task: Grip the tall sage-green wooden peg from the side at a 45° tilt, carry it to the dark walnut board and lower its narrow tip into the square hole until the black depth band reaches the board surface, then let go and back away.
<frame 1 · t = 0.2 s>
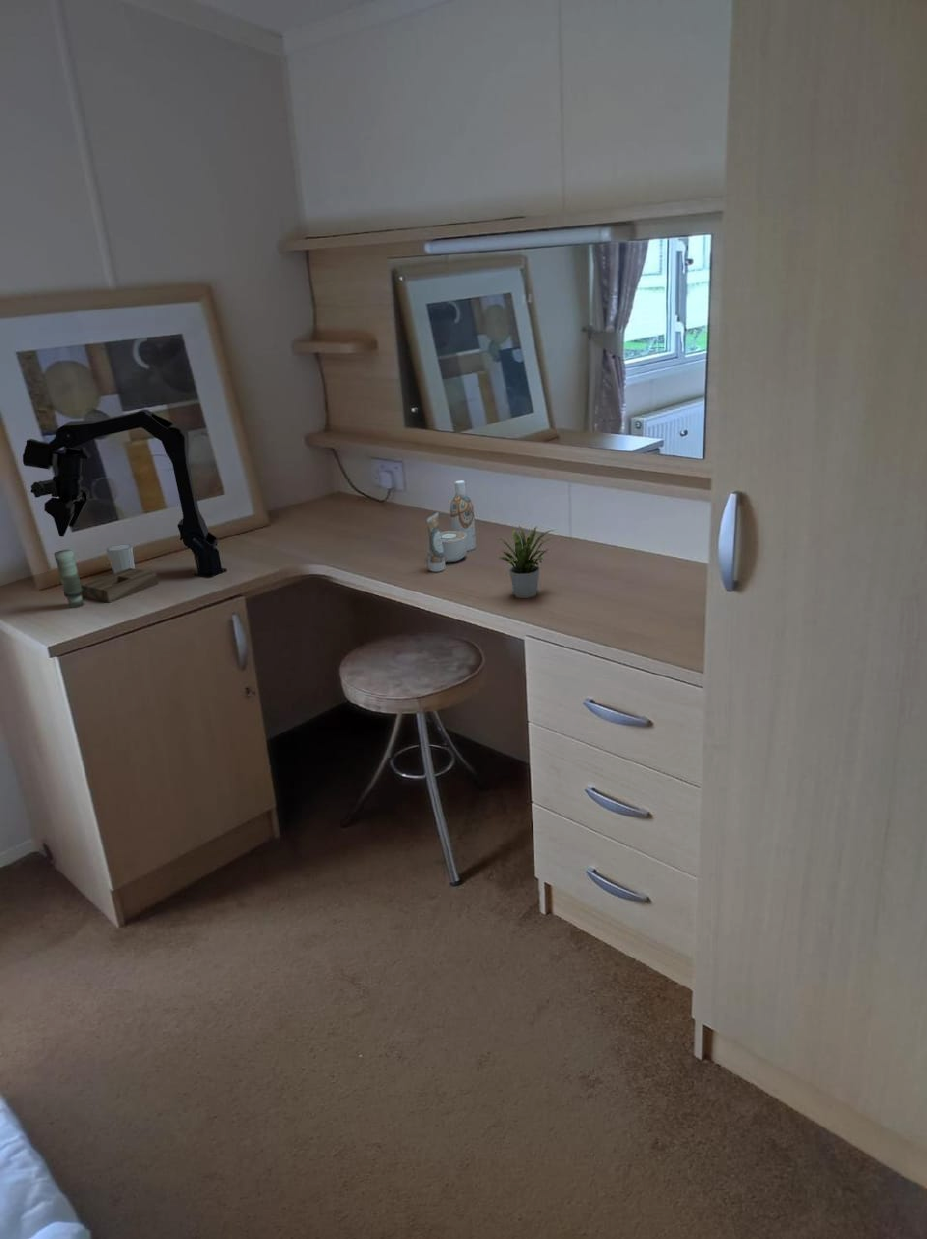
hand: (66, 531, 230), 15 cm above the table, tool tilted 15°, fingers open, 9 cm apart
peg: (76, 605, 222), on the table
board: (121, 590, 231), on the table
shot glass: (124, 572, 246), on the table
house plant: (531, 595, 207), on the table
cosmetic set: (451, 559, 236), on the table
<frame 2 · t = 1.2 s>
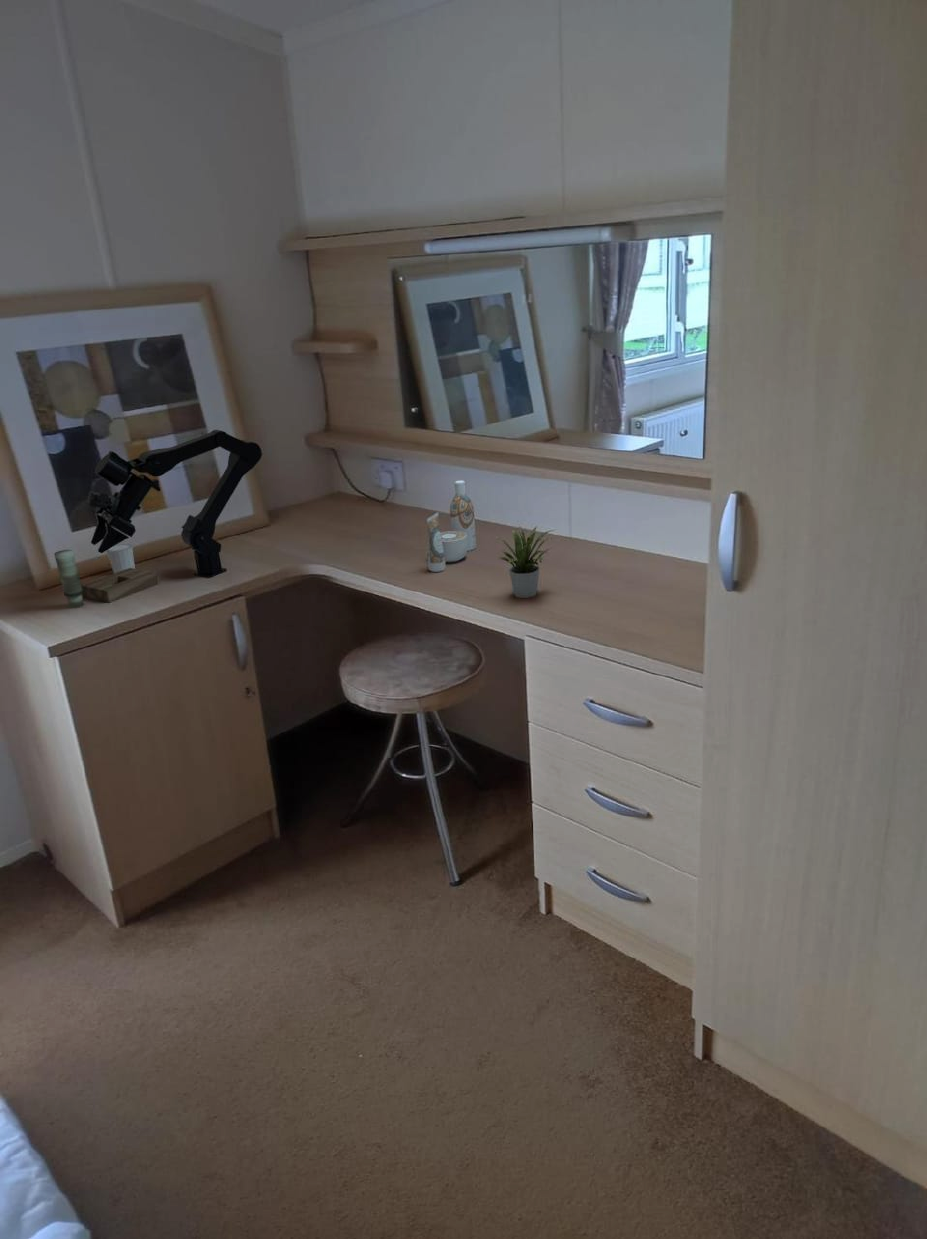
hand: (96, 548, 221), 13 cm above the table, tool tilted 45°, fingers open, 9 cm apart
nothing on the table moved.
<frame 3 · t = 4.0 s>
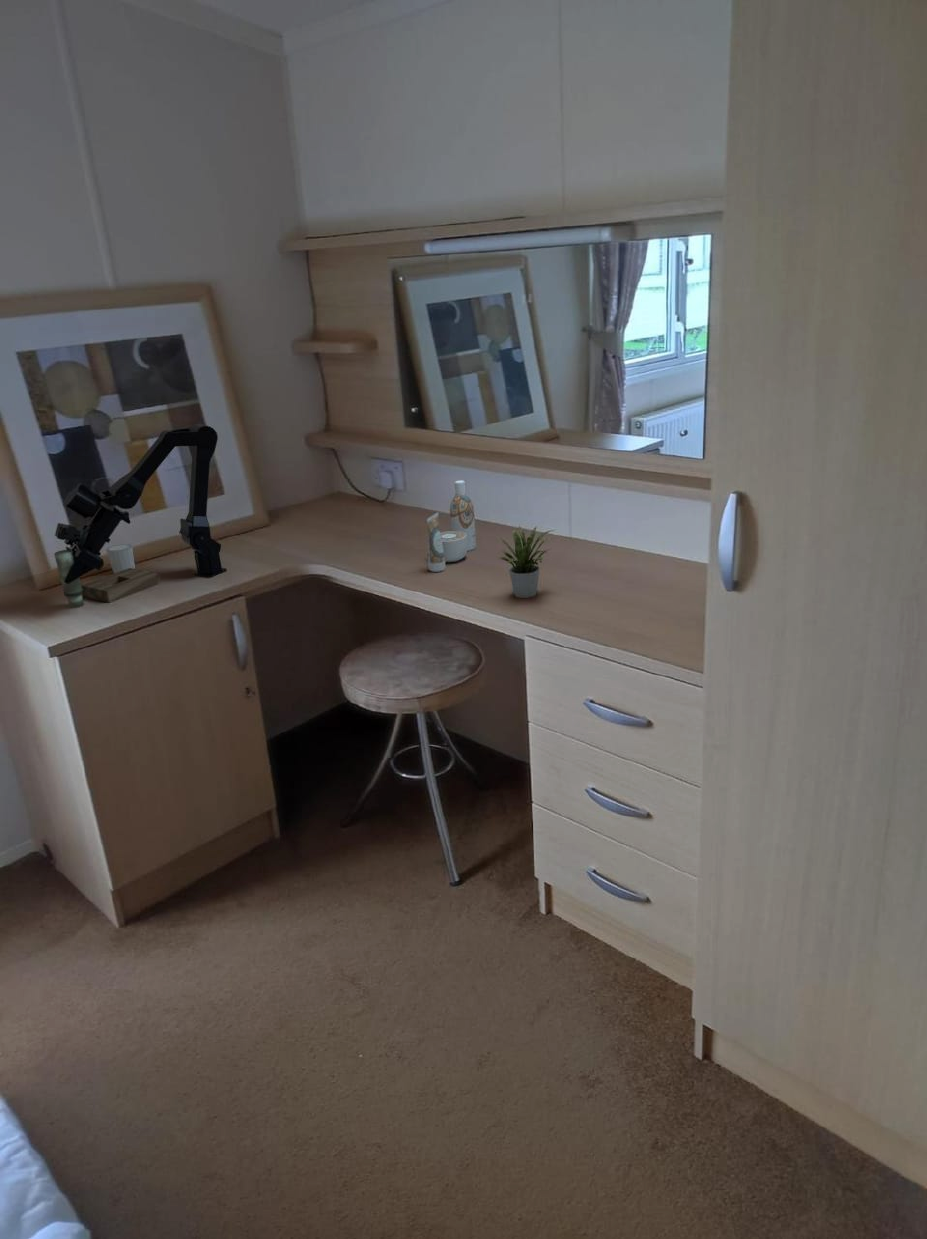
hand: (64, 580, 218), 7 cm above the table, tool tilted 45°, fingers closed on peg, 4 cm apart
peg: (76, 605, 222), on the table, touching gripper
everything else where it was.
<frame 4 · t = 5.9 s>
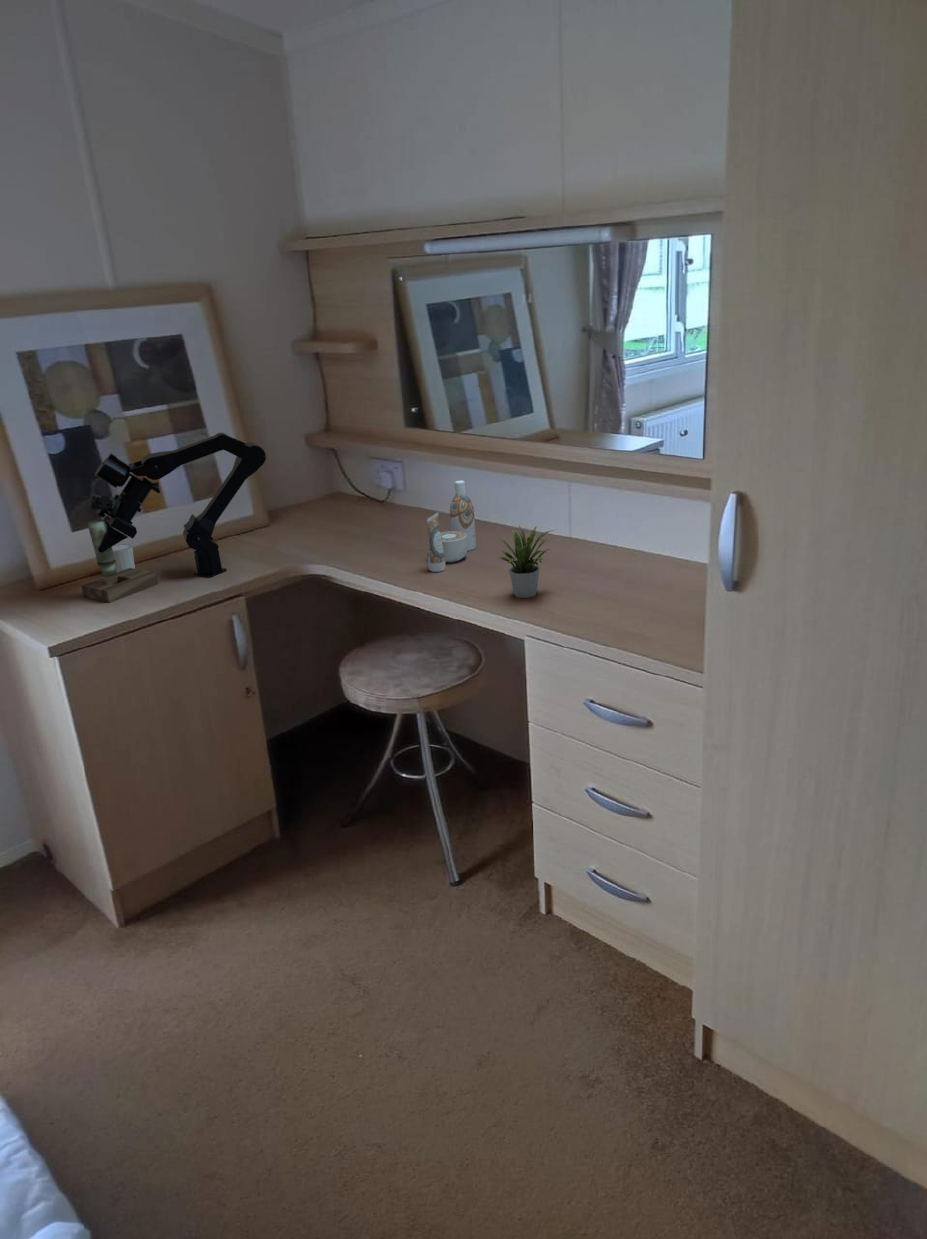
hand: (97, 550, 224), 12 cm above the table, tool tilted 45°, fingers closed on peg, 4 cm apart
peg: (109, 574, 227), point 5 cm above the table, touching gripper
everything else where it was.
when the fingers open (7 cm above the table, at t = 7.6 s): peg stays where it is, resting in board.
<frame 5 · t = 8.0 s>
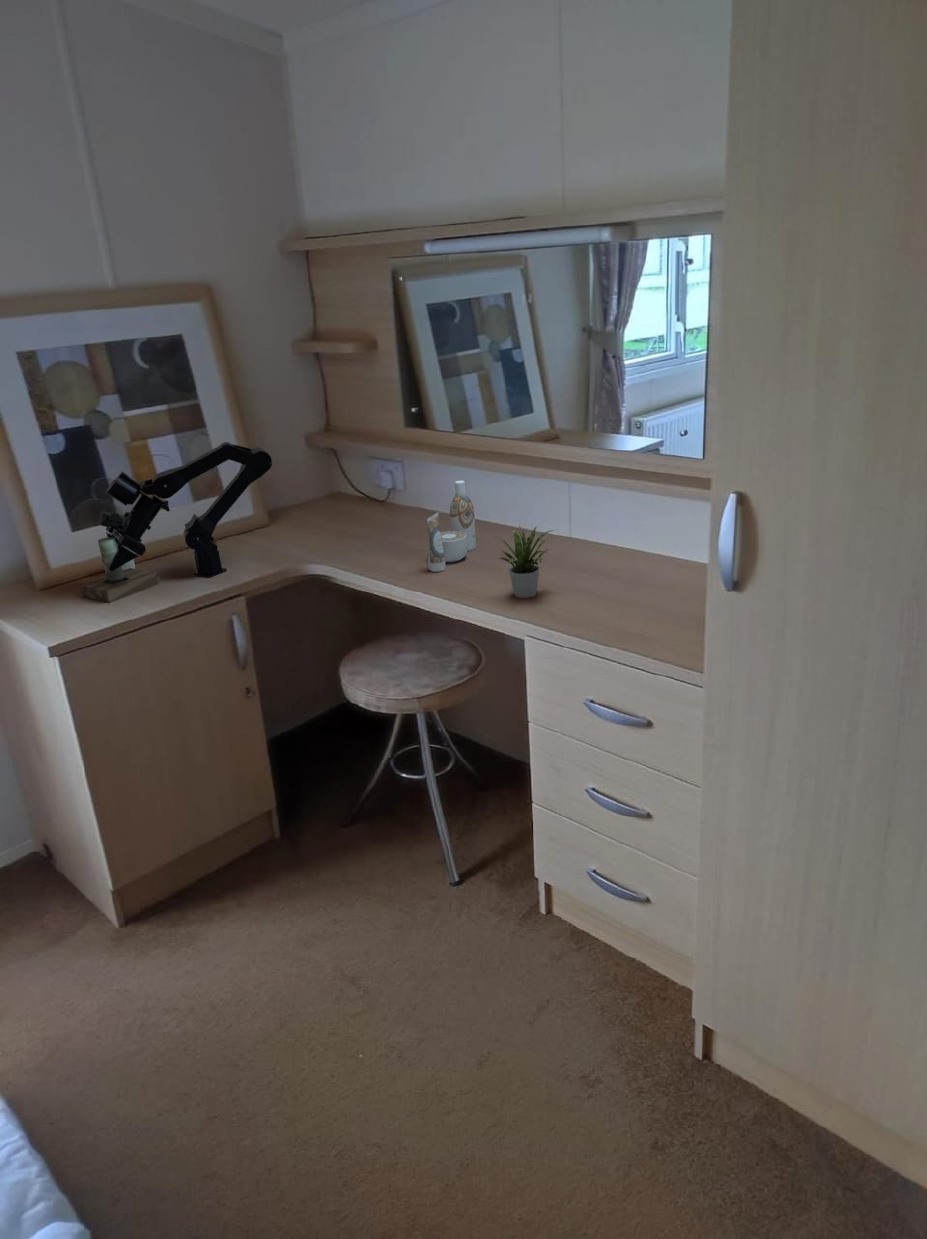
hand: (106, 566, 227), 7 cm above the table, tool tilted 45°, fingers open, 8 cm apart
peg: (118, 591, 230), resting in board
everything else where it was.
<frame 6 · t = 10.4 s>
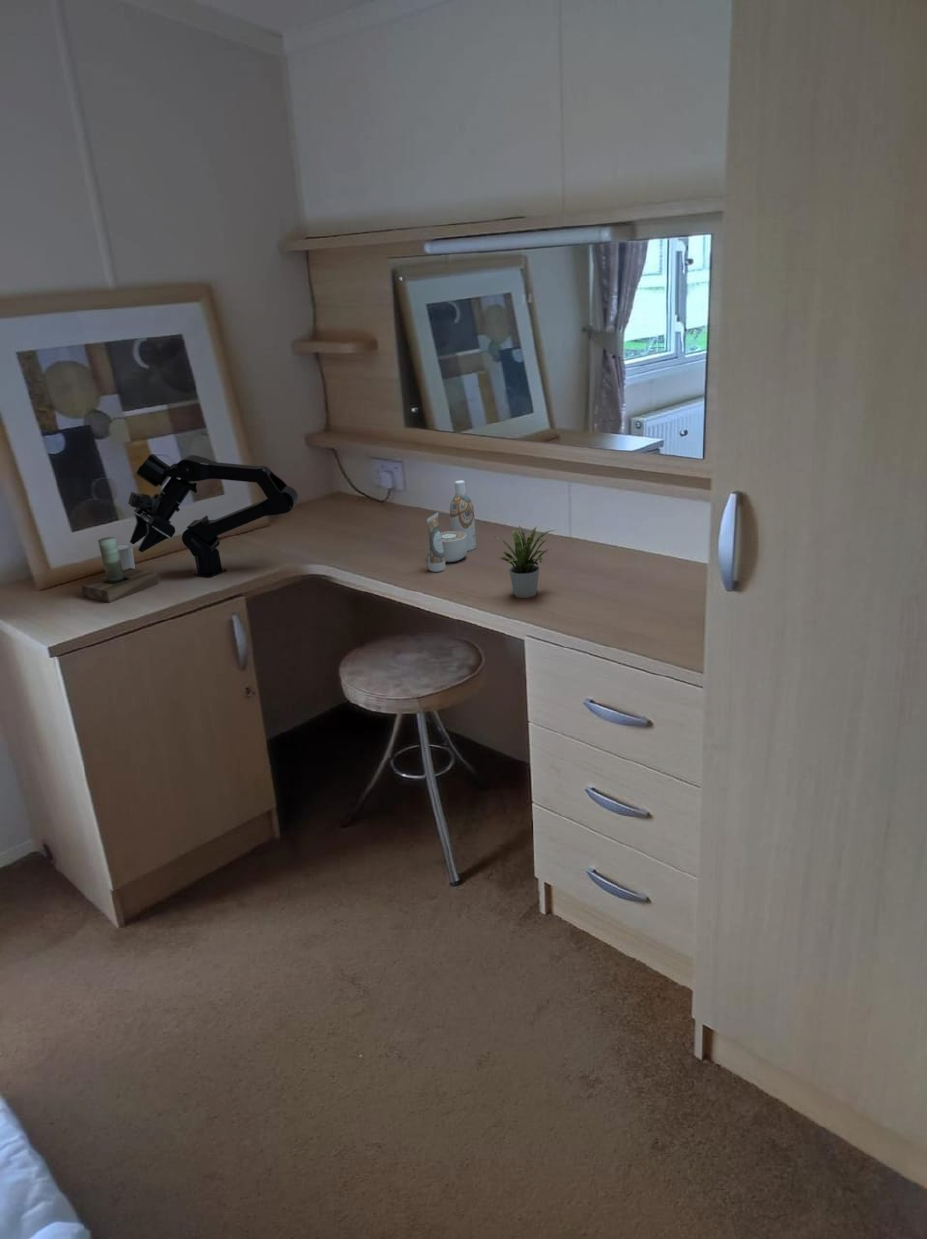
hand: (135, 547, 229), 10 cm above the table, tool tilted 45°, fingers open, 9 cm apart
nothing on the table moved.
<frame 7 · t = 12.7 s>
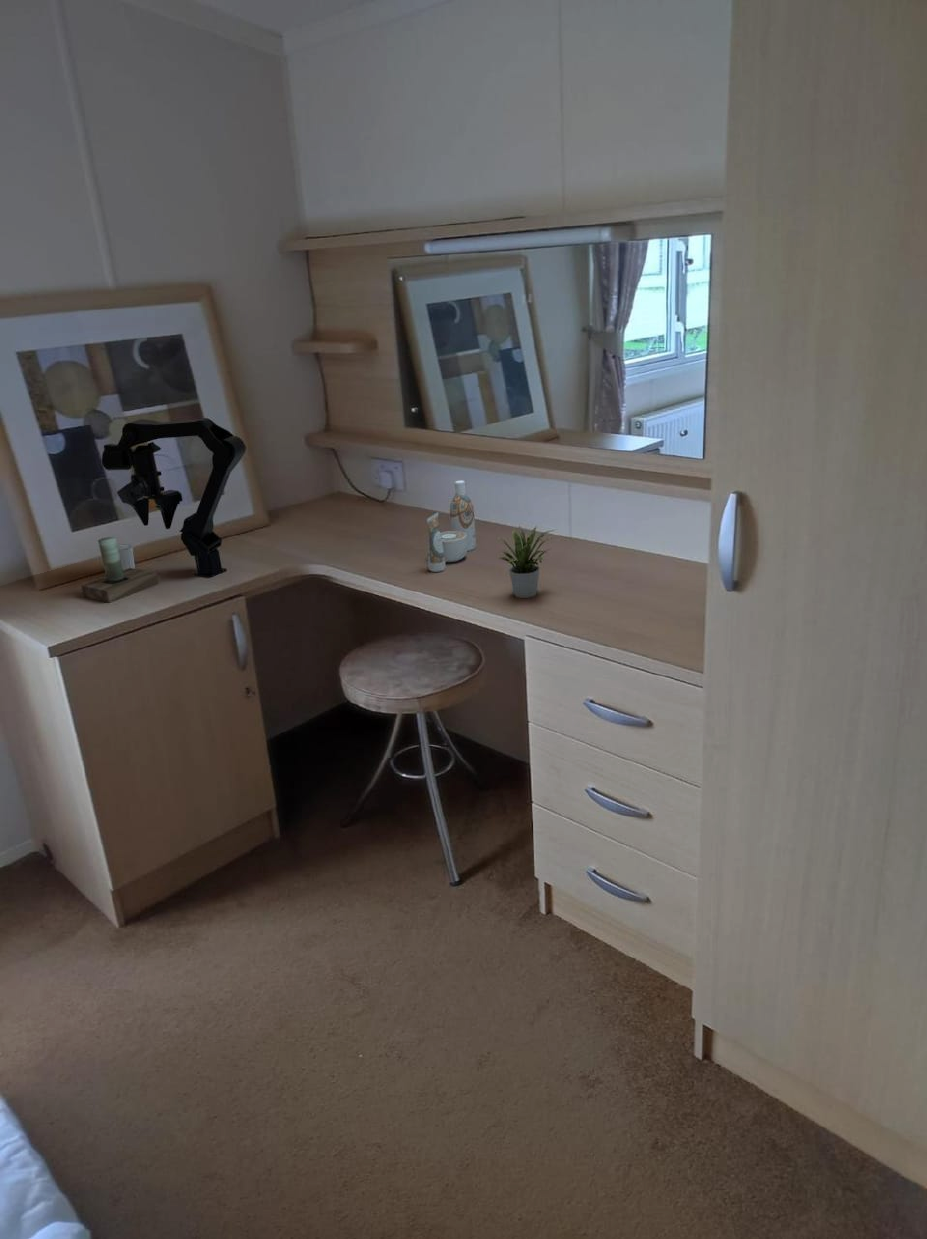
hand: (157, 527, 237), 13 cm above the table, tool pointing down, fingers open, 9 cm apart
nothing on the table moved.
at the end: peg 0.1 cm off-centre on the board, point 0.0 cm above the board's base; peg tilted 0°; the gripper is holding nothing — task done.
